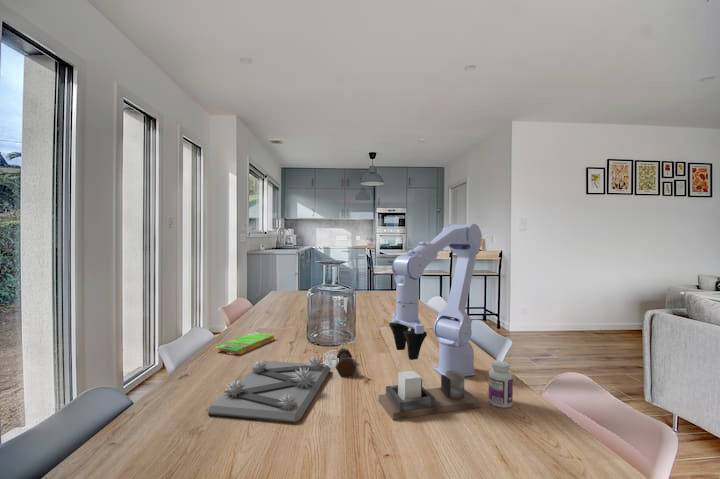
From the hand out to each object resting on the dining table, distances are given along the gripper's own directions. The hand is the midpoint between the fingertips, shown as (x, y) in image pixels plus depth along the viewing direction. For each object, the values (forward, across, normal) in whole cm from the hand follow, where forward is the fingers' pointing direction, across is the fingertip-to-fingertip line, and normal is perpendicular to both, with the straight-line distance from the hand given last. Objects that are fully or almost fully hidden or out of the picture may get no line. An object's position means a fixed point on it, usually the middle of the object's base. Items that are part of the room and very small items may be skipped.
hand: (406, 354), depth 91 cm
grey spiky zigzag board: (+10, -9, -32) cm, 35 cm away
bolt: (+10, -20, -11) cm, 25 cm away
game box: (+10, -49, -40) cm, 64 cm away
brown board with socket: (+9, +9, +2) cm, 13 cm away
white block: (+8, +8, -3) cm, 12 cm away
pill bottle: (+10, +13, +19) cm, 25 cm away
